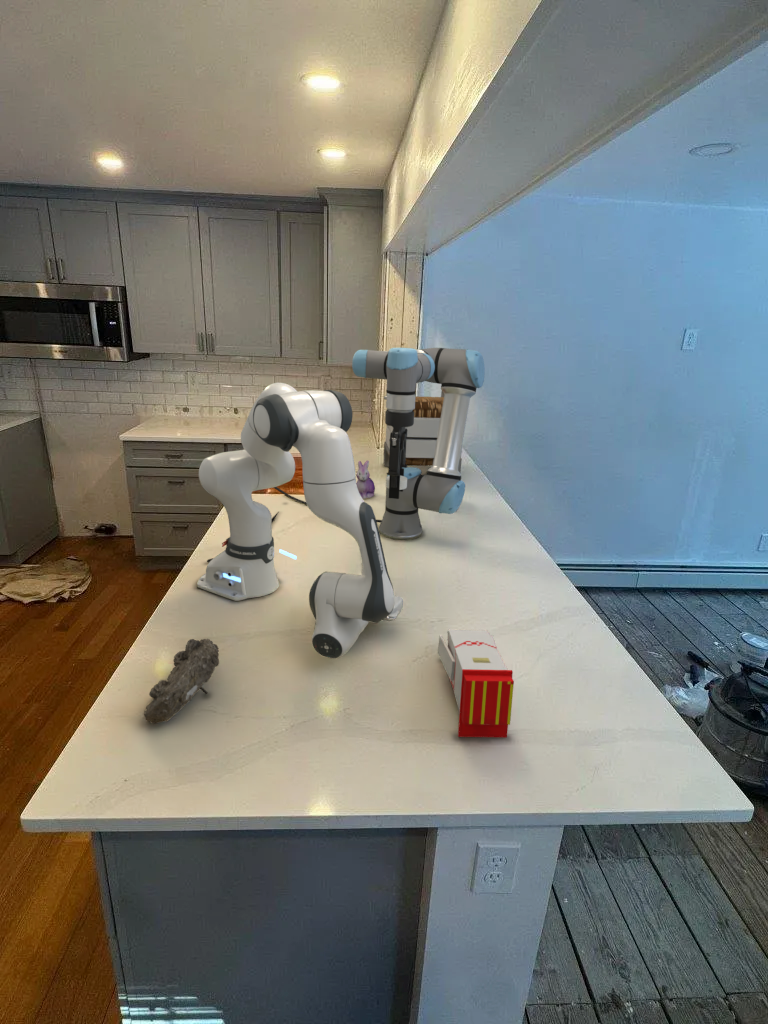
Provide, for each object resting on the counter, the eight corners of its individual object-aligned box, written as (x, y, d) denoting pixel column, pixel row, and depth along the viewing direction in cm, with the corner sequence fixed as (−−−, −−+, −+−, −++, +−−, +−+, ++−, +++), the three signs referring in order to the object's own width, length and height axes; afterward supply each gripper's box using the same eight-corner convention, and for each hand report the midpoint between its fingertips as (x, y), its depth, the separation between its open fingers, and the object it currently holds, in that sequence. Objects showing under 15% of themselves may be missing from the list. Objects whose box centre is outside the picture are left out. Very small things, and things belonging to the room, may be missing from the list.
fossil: (172, 641, 124) (220, 609, 119) (203, 670, 127) (251, 640, 122) (121, 717, 104) (176, 683, 99) (159, 749, 107) (214, 718, 102)
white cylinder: (411, 487, 154) (411, 479, 153) (394, 491, 151) (394, 482, 150) (398, 482, 158) (398, 473, 157) (381, 485, 155) (381, 476, 154)
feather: (286, 506, 225) (288, 502, 225) (268, 529, 199) (271, 525, 198) (282, 503, 225) (284, 499, 225) (264, 526, 199) (267, 522, 198)
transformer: (382, 463, 289) (386, 382, 275) (445, 464, 293) (451, 384, 279) (390, 482, 257) (394, 392, 243) (460, 483, 261) (468, 394, 247)
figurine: (359, 500, 232) (360, 465, 227) (349, 493, 240) (350, 458, 235) (380, 498, 236) (381, 463, 231) (369, 490, 244) (370, 457, 239)
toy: (488, 613, 130) (523, 677, 101) (484, 667, 133) (517, 744, 104) (435, 612, 130) (455, 676, 101) (432, 666, 133) (451, 743, 103)
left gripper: (395, 609, 131) (411, 583, 144) (314, 593, 137) (336, 569, 149) (393, 632, 133) (409, 605, 146) (314, 615, 139) (336, 591, 152)
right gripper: (392, 403, 156) (389, 483, 165) (378, 415, 139) (375, 504, 147) (419, 405, 155) (414, 485, 163) (408, 417, 138) (403, 506, 146)
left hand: (372, 587), depth 148 cm, fingers closed on jar, 5 cm apart
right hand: (396, 494), depth 155 cm, fingers closed on white cylinder, 6 cm apart
